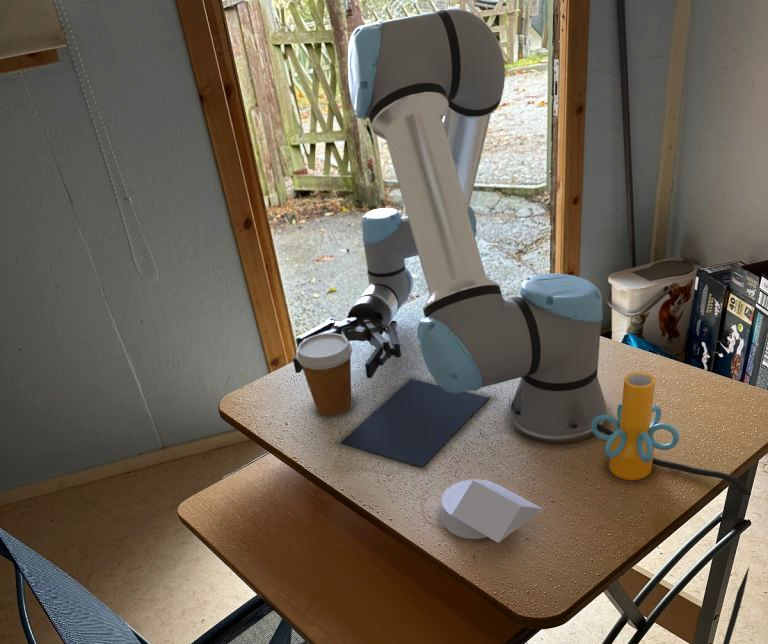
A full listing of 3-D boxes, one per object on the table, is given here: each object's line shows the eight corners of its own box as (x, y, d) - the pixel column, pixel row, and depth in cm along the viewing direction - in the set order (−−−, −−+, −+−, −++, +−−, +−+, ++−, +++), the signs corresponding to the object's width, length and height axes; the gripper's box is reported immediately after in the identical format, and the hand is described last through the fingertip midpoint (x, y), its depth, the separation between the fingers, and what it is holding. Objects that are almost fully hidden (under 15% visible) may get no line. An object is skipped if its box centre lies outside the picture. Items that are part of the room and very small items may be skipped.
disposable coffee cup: (354, 421, 133) (343, 358, 125) (301, 420, 135) (287, 359, 127) (365, 391, 140) (356, 331, 132) (315, 391, 142) (303, 331, 134)
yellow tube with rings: (582, 451, 119) (587, 364, 109) (648, 440, 119) (659, 352, 109) (609, 499, 109) (617, 409, 100) (681, 487, 109) (696, 396, 100)
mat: (489, 398, 133) (489, 397, 133) (422, 468, 120) (422, 467, 120) (411, 379, 141) (411, 378, 141) (340, 443, 128) (339, 442, 128)
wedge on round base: (542, 527, 106) (473, 489, 114) (543, 489, 102) (471, 452, 110) (498, 561, 102) (430, 519, 110) (497, 523, 98) (426, 482, 106)
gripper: (436, 334, 147) (401, 392, 133) (317, 327, 155) (271, 382, 141) (433, 297, 143) (397, 353, 128) (310, 292, 151) (263, 345, 136)
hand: (331, 368), depth 134 cm, fingers open, 13 cm apart
